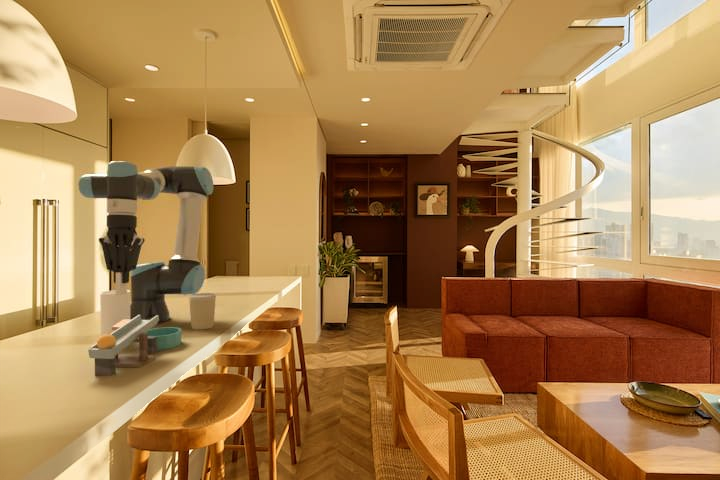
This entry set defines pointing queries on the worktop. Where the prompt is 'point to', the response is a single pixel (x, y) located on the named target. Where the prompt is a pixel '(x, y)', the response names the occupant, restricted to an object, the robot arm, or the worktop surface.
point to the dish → (166, 337)
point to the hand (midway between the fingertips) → (121, 294)
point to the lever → (123, 336)
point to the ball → (106, 342)
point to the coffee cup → (202, 310)
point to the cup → (113, 309)
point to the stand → (128, 357)
